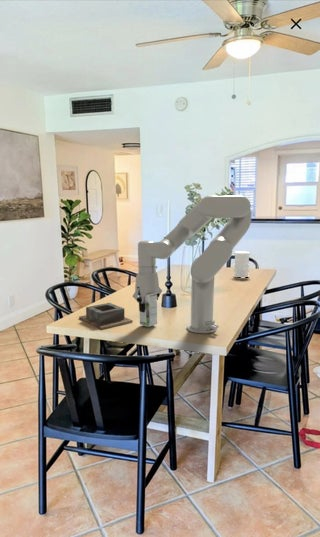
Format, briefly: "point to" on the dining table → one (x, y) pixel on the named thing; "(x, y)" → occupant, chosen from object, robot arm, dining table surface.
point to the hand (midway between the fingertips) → (148, 309)
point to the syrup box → (149, 310)
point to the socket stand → (105, 316)
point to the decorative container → (241, 264)
